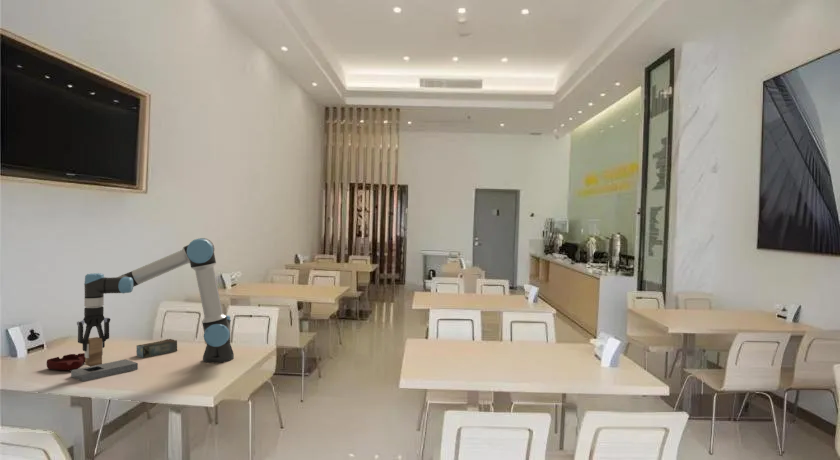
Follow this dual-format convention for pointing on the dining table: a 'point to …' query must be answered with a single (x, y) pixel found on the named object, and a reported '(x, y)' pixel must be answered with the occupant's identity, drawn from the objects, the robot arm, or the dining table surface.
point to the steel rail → (104, 370)
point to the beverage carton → (156, 348)
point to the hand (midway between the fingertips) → (93, 356)
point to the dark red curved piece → (66, 362)
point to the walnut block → (94, 352)
